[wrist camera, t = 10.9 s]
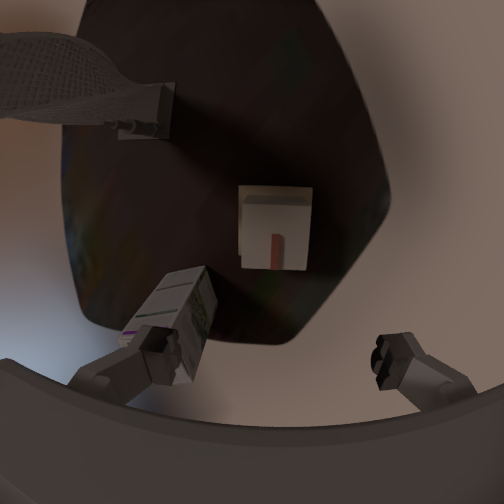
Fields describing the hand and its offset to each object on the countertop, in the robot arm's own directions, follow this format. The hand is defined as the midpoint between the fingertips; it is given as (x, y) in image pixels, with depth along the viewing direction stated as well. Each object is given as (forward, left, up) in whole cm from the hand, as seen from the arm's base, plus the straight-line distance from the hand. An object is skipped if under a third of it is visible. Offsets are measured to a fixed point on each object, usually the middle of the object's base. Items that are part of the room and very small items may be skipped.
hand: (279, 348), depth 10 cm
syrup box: (+9, -10, -22) cm, 26 cm away
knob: (0, 0, -21) cm, 21 cm away
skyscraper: (-14, -16, -22) cm, 31 cm away
